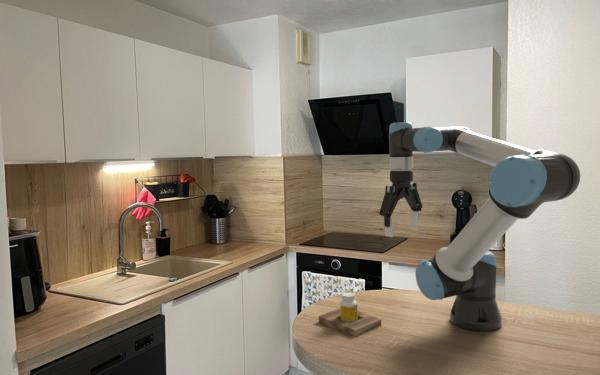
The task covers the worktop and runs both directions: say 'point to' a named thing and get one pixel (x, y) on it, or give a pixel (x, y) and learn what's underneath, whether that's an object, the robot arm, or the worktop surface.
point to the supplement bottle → (348, 308)
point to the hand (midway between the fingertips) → (401, 233)
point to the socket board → (354, 328)
